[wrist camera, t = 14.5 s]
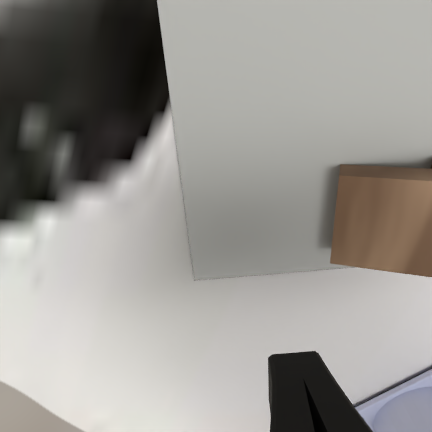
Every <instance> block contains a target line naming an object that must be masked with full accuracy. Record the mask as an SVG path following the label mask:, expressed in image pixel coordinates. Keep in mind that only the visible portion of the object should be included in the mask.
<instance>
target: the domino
mask: <svg viewBox="0 0 432 432" xmlns="http://www.w3.org/2000/svg"><path fill="white" fill-rule="evenodd" d="M330 264H338V265H345V266H352V267H360V268H367V269H375V270H382V271H389V272H397V273H404V274H412V275H419V276H426V277H432V169H424V168H404V167H385V166H365V165H345V164H340V172H339V181H338V191H337V200H336V210H335V219H334V228H333V238H332V247H331V257H330Z"/></svg>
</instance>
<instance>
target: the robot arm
mask: <svg viewBox="0 0 432 432" xmlns="http://www.w3.org/2000/svg"><path fill="white" fill-rule="evenodd" d="M268 374H269V404H270V412H271V425H270V432H432V369H431V370H429V371H427V372H425V373H423V374H421V375H419V376H417V377H415V378H413V379H411V380H409V381H407V382H405V383H403V384H401V385H399V386H397V387H395V388H393V389H391V390H389V391H387V392H385V393H383V394H381V395H379V396H377V397H375V398H373V399H371V400H369V401H367V402H365V403H363V404H361V405H359V406H357V407H354V406H353V405H352V403H351V402H350V400H349V399H348V398H347V396H346V395H345V393H344V392H343V390H342V389H341V388H340V386H339V385H338V383H337V382H336V380H335V379H334V377H333V376H332V374H331V373H330V371H329V370H328V368H327V367H326V365H325V363H324V362H323V360H322V358H321V357H320V355H319V354H318V353H317V352H316V351H311V352H298V353H286V354H274V355H271V356H270V357H269V358H268Z"/></svg>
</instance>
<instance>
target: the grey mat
mask: <svg viewBox="0 0 432 432" xmlns="http://www.w3.org/2000/svg"><path fill="white" fill-rule="evenodd" d="M157 4H158V11H159V19H160V26H161V34H162V41H163V49H164V56H165V64H166V71H167V79H168V86H169V94H170V101H171V109H172V117H173V124H174V132H175V139H176V147H177V154H178V162H179V169H180V177H181V184H182V192H183V199H184V207H185V214H186V222H187V229H188V237H189V245H190V252H191V260H192V267H193V275H194V281H196V280H208V279H220V278H232V277H244V276H256V275H268V274H280V273H293V272H305V271H317V270H329V269H341V268H353V267H352V266H345V265H338V264H330V257H331V247H332V238H333V228H334V219H335V210H336V200H337V191H338V181H339V172H340V164H345V165H365V166H385V167H404V168H424V169H430V168H431V164H432V0H157Z"/></svg>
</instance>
